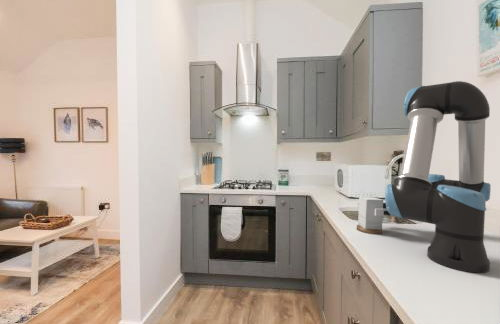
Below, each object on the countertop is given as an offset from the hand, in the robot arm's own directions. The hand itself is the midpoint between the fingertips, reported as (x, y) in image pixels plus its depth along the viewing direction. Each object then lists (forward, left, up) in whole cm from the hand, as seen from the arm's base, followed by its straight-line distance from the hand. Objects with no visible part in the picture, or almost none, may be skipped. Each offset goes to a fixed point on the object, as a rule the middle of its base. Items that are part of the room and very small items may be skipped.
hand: (366, 208), depth 110 cm
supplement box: (0, -2, -8) cm, 9 cm away
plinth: (0, -2, -10) cm, 10 cm away
